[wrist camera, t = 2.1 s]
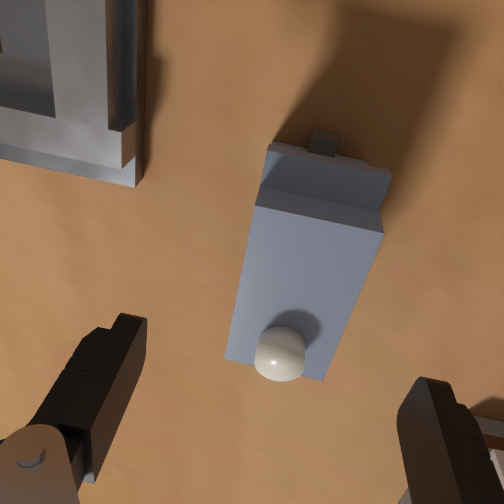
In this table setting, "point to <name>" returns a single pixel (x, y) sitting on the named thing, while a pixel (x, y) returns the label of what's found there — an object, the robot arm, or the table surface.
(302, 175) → the servo
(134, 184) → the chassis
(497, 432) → the white alcove tower
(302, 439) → the table surface
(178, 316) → the table surface
